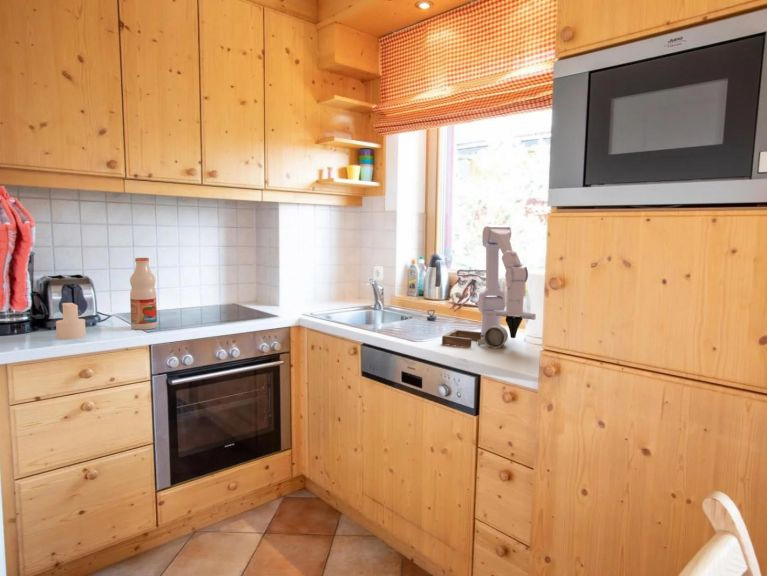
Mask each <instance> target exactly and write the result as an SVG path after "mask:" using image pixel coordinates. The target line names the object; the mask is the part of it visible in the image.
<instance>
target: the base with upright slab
mask: <svg viewBox="0 0 767 576" xmlns="http://www.w3.org/2000/svg"><path fill="white" fill-rule="evenodd" d="M78 307H79V306H78V305H77V304H76V303H74V302H62V319H59V320H57V321H56V320H55V326H56V327H55V329H56V331H55V332H56V333H55V334H56V339H58V340H59V341H60V340H64V341H68V340H69V341H70V340H71V341H72V340H78V339H83V338H86V336H87V332H86V319H84V318H79V308H78Z"/></svg>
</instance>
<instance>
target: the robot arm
mask: <svg viewBox="0 0 767 576" xmlns="http://www.w3.org/2000/svg"><path fill="white" fill-rule="evenodd" d="M481 235H482V236H481V237H482V238H481V239H482V243H481V244H482V246H483V247H484V248H485V257H486V258H485V288H484V289H483V290H481V291H480V292H479V293H478V300H477V309H478V311H479V312H480V313H481V321H480V322H481V324H480V326H481V327H480V332H481V337H482V336H483V337H484V333H485V332H486V330H487V329H489V328H491V327H493V326H501V327H502V325H501V324H502V323H501V322H502V317H503V318H505V322H506V324H507V326H508V331H509V335H510V336H509V337H510V338H511V339H516V336H517V332H518V330H519V327H520V325H521V323H522V321H523V319H524V320H531V321H532V320H533V321H535V320H536V315H537V314H536V313H534V312H533V313H532V312H525V311H524V298H525V297H524V296H525V283H526V282H527V280H528V277H529V271H528V268H527V266H526V265H524V264H522V263H521V260H520V258H519V256H518V254H517V252H516V251H514V250H513V248H512V244H511V238H512V228H511V227H510V225H489V224H486V225H484V227H483V230H482V234H481ZM500 252H501V253H502V257H501V261H502V263H503V266H504V269H505V285H506V287H507V288H506V289H507V290H506V291H507V293H506V294H507V295H506V300H505V294H504V293H503V292H502V291H501V290H500V289H499V261H500V256H499V255H500V254H499V253H500Z"/></svg>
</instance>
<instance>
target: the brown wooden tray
mask: <svg viewBox="0 0 767 576" xmlns="http://www.w3.org/2000/svg"><path fill="white" fill-rule="evenodd" d="M441 338H442V339H441V345H445V344H449V345H448V346H453V345H456V346H455V347H461V346H463V347H462V348H469V347H470V348H471V347H472V340H473V341H478V340H480V339H482V335H481V331H473V330H465V329H452V331H449V332H447V333H446V334H444V335H442V336H441ZM471 339H472V340H471Z"/></svg>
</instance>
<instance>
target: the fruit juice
mask: <svg viewBox="0 0 767 576" xmlns="http://www.w3.org/2000/svg"><path fill="white" fill-rule="evenodd" d="M149 262H150V258H149V257H135V263H136V264H135V269H134V271H133V273H132V274H131V276H130V278H129V283H130V286H131V289H130V294H129V299H130V300H129V302H130V326H131V329H132V330H135V331H137V330H139V331H140V330H141V331H142V330H152V329H155V328H157V325H158V314H157V313H158V311H157V291H156V288H155V285H156V277H155V275H154V274H153V273H152V271H151V269H150V266H149Z"/></svg>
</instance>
